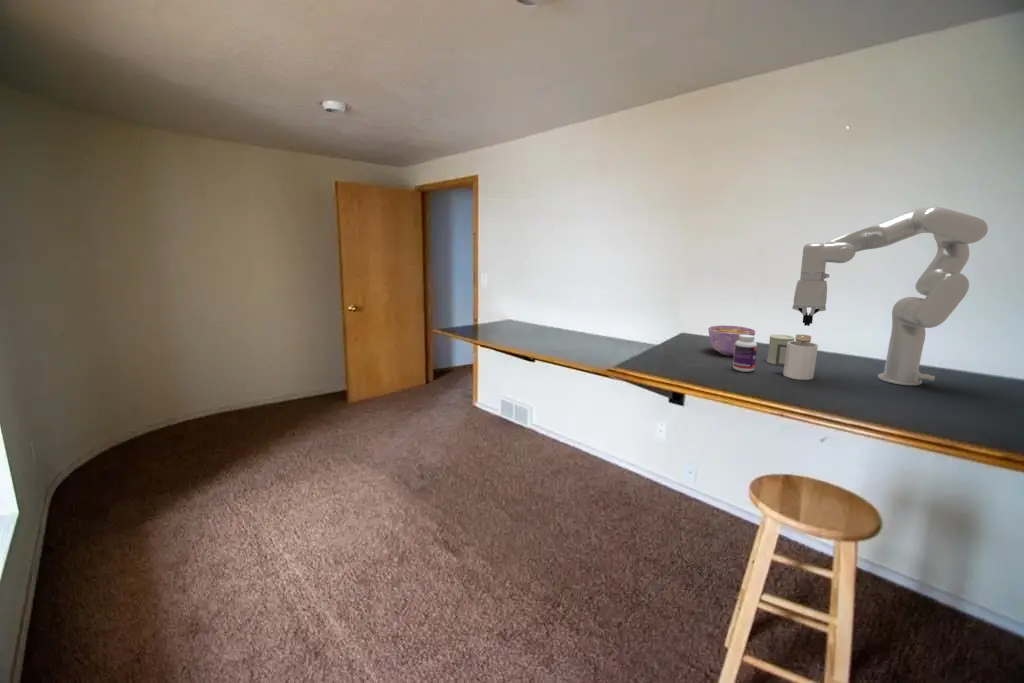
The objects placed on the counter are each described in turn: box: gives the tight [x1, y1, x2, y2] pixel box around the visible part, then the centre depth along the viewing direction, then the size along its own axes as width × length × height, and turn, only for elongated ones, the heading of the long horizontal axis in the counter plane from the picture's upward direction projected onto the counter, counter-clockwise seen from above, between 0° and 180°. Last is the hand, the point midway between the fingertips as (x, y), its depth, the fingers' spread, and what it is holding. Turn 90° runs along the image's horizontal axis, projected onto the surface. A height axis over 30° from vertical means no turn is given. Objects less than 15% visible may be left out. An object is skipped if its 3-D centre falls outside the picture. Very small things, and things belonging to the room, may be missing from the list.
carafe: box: [774, 340, 819, 381], centre depth 175 cm, size 13×10×13 cm
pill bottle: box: [732, 335, 758, 373], centre depth 183 cm, size 8×8×14 cm
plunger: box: [794, 334, 812, 346], centre depth 174 cm, size 7×7×14 cm
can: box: [766, 334, 795, 365], centre depth 194 cm, size 9×9×12 cm
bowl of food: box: [707, 325, 757, 357], centre depth 209 cm, size 20×20×12 cm
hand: (807, 325), depth 171 cm, fingers closed
